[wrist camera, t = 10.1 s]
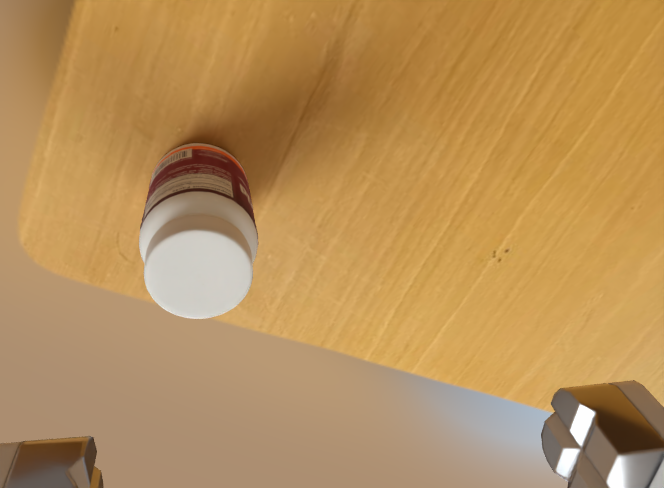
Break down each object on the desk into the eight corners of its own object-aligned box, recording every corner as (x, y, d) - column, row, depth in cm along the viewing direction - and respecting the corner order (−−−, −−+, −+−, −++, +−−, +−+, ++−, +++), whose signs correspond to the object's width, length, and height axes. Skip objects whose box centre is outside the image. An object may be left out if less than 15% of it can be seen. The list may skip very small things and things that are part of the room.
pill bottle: (245, 229, 30) (258, 328, 23) (151, 225, 29) (134, 328, 22) (252, 143, 28) (269, 223, 21) (150, 136, 27) (131, 218, 20)
